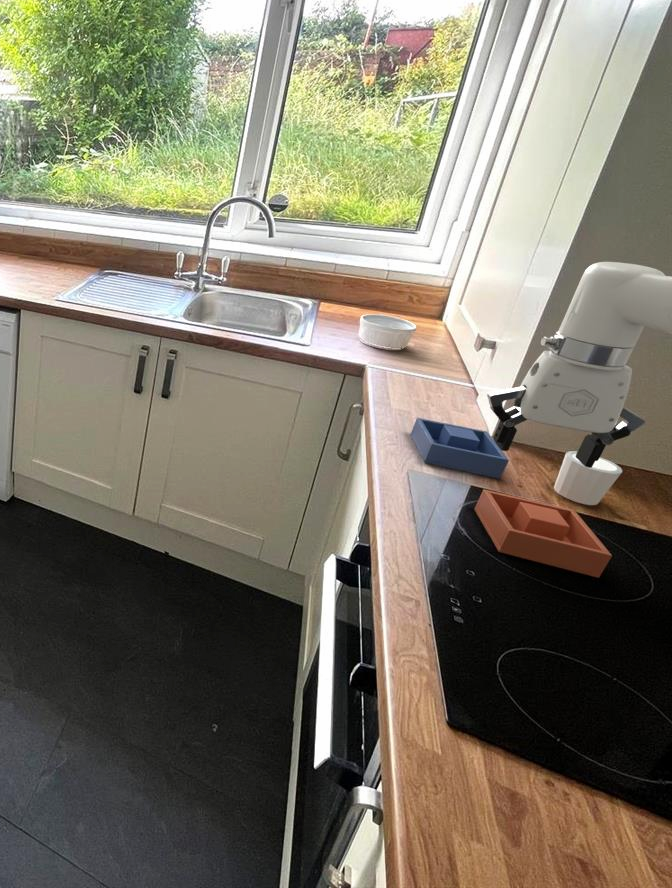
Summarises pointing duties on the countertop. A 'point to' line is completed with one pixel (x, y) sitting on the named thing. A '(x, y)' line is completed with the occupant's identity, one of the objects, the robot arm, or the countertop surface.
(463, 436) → the blue block
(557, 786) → the countertop surface
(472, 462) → the blue bin
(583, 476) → the white cylinder
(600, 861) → the countertop surface
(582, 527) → the terracotta bin
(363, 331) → the ramekin
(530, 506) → the terracotta block
